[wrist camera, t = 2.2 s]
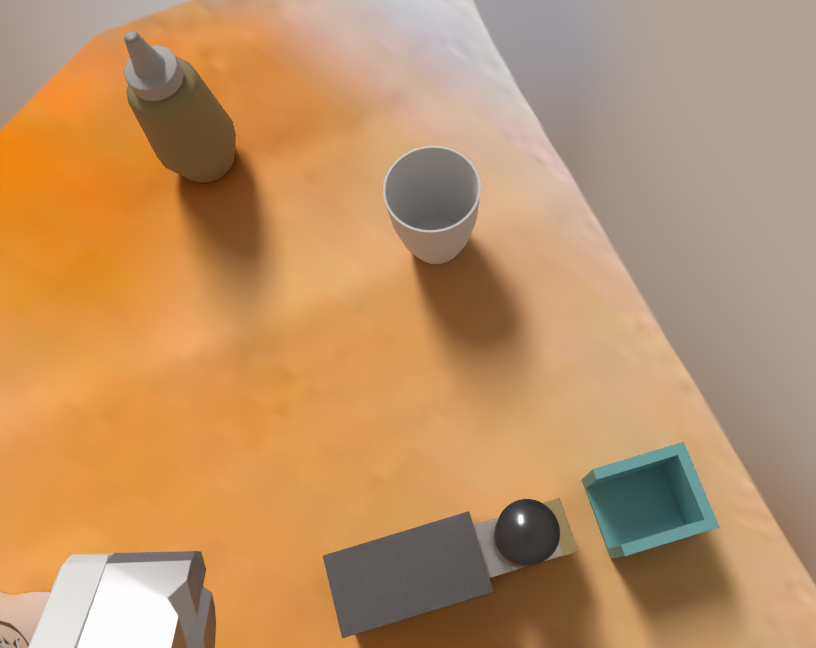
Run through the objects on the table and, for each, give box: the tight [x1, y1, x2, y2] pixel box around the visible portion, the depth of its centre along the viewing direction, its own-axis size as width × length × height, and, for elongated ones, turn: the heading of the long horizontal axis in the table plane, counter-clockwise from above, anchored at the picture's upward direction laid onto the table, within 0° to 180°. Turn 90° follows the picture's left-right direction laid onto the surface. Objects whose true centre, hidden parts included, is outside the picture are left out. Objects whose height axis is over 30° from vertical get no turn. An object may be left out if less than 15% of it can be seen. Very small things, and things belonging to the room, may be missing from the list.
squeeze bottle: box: [124, 31, 236, 183], centre depth 67 cm, size 8×8×18 cm
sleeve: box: [323, 511, 494, 638], centre depth 58 cm, size 12×6×6 cm, turn 106°
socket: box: [582, 442, 719, 558], centre depth 58 cm, size 7×7×6 cm
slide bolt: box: [473, 498, 578, 578], centre depth 53 cm, size 17×4×14 cm, turn 106°
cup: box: [383, 146, 481, 264], centre depth 66 cm, size 8×8×10 cm
